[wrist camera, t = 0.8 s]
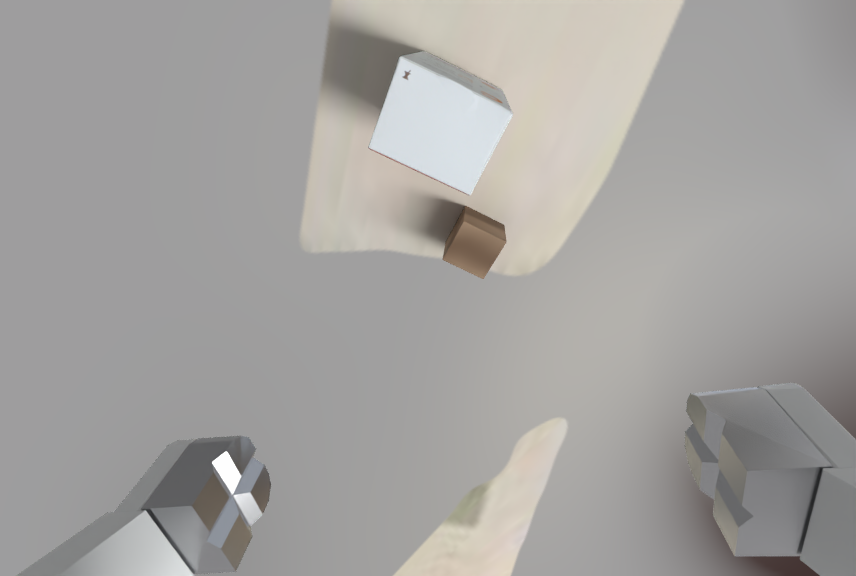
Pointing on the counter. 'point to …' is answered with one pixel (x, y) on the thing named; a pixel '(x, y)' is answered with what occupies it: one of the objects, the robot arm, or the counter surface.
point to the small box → (440, 121)
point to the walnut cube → (474, 242)
